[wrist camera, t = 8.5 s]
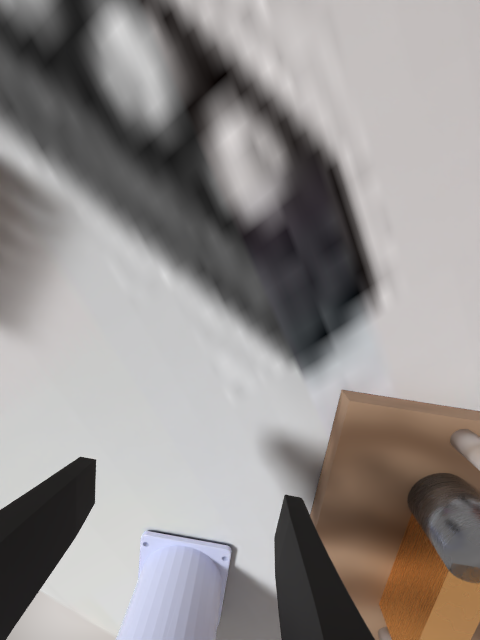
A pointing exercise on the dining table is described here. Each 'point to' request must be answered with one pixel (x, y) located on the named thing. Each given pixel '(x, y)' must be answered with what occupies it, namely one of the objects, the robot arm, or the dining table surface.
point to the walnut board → (384, 485)
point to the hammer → (436, 564)
